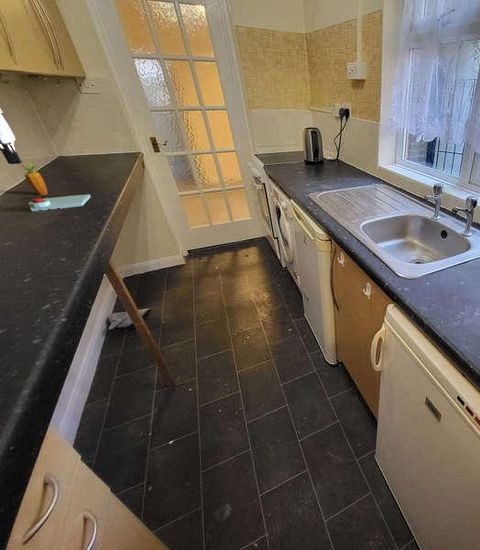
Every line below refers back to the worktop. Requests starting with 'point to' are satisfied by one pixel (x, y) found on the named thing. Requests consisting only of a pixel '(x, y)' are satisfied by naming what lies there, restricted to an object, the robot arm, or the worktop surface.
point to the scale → (59, 202)
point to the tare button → (37, 200)
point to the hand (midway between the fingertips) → (15, 163)
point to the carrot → (35, 181)
